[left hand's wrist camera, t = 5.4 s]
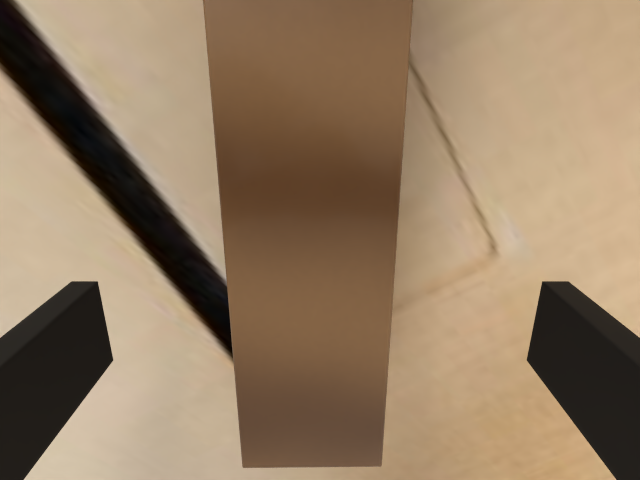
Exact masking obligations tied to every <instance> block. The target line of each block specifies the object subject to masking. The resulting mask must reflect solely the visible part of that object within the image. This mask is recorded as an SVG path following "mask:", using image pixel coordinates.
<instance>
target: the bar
mask: <svg viewBox="0 0 640 480" xmlns="http://www.w3.org/2000/svg"><path fill="white" fill-rule="evenodd" d="M203 5H204V16H205V28H206V40H207V52H208V64H209V76H210V87H211V99H212V111H213V123H214V135H215V147H216V158H217V170H218V182H219V194H220V206H221V218H222V229H223V241H224V253H225V265H226V277H227V289H228V300H229V312H230V324H231V336H232V348H233V360H234V371H235V383H236V395H237V407H238V419H239V431H240V442H241V454H242V466H243V468H274V467H374V466H381V465H382V451H383V436H384V422H385V407H386V392H387V377H388V362H389V348H390V333H391V318H392V303H393V288H394V274H395V259H396V244H397V229H398V214H399V199H400V185H401V170H402V155H403V140H404V125H405V111H406V96H407V81H408V66H409V51H410V37H411V22H412V7H413V0H203Z"/></svg>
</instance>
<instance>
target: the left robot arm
mask: <svg viewBox="0 0 640 480" xmlns="http://www.w3.org/2000/svg"><path fill="white" fill-rule="evenodd" d="M112 361H113V357H112V352H111V347H110V341H109V336H108V331H107V326H106V321H105V316H104V311H103V306H102V301H101V296H100V291H99V286H98V282H70V283H69V284H68V285H67V286H65V287H64V288H63V289H62V290H60V291H59V292H58V293H57V294H55V295H54V296H53V297H51V298H50V299H49V300H48V301H46V302H45V303H44V304H43V305H41V306H40V307H39V308H38V309H36V310H35V311H34V312H33V313H31V314H30V315H29V316H27V317H26V318H25V319H24V320H22V321H21V322H20V323H19V324H17V325H16V326H15V327H14V328H12V329H11V330H10V331H8V332H7V333H6V334H5V335H3V336H2V337H1V338H0V480H24V478H25V477H26V476H27V474H28V473H29V472H30V470H31V469H32V468H33V466H34V465H35V464H36V462H37V461H38V460H39V458H40V457H41V456H42V454H43V453H44V452H45V450H46V449H47V448H48V446H49V445H50V444H51V442H52V441H53V440H54V438H55V437H56V436H57V434H58V433H59V432H60V430H61V429H62V428H63V426H64V425H65V424H66V422H67V421H68V420H69V418H70V417H71V416H72V414H73V413H74V412H75V410H76V409H77V408H78V406H79V405H80V404H81V402H82V401H83V400H84V398H85V397H86V396H87V394H88V393H89V392H90V390H91V389H92V388H93V386H94V385H95V384H96V382H97V381H98V380H99V378H100V377H101V376H102V374H103V373H104V372H105V371H106V369H107V368H108V367H109V365H110V364H111V363H112ZM527 361H528V363H529V364H530V365H531V367H532V368H533V369H534V371H535V372H536V373H537V374H538V376H539V377H540V378H541V380H542V381H543V382H544V384H545V385H546V386H547V388H548V389H549V390H550V392H551V393H552V394H553V396H554V397H555V398H556V400H557V401H558V402H559V404H560V405H561V406H562V408H563V409H564V410H565V412H566V413H567V414H568V416H569V417H570V418H571V420H572V421H573V422H574V424H575V425H576V426H577V428H578V429H579V430H580V432H581V433H582V434H583V436H584V437H585V438H586V440H587V441H588V442H589V444H590V445H591V446H592V448H593V449H594V450H595V452H596V453H597V454H598V456H599V457H600V458H601V460H602V461H603V462H604V464H605V465H606V466H607V468H608V469H609V470H610V472H611V473H612V474H613V476H614V477H615V478H616V480H640V338H639V337H638V336H637V335H635V334H634V333H633V332H632V331H630V330H629V329H628V328H626V327H625V326H624V325H623V324H621V323H620V322H619V321H618V320H616V319H615V318H614V317H613V316H611V315H610V314H609V313H607V312H606V311H605V310H604V309H602V308H601V307H600V306H599V305H597V304H596V303H595V302H594V301H592V300H591V299H590V298H589V297H587V296H586V295H585V294H583V293H582V292H581V291H580V290H578V289H577V288H576V287H575V286H573V285H572V284H571V283H570V282H542V286H541V291H540V296H539V301H538V306H537V311H536V316H535V321H534V326H533V331H532V336H531V341H530V347H529V352H528V357H527Z"/></svg>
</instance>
